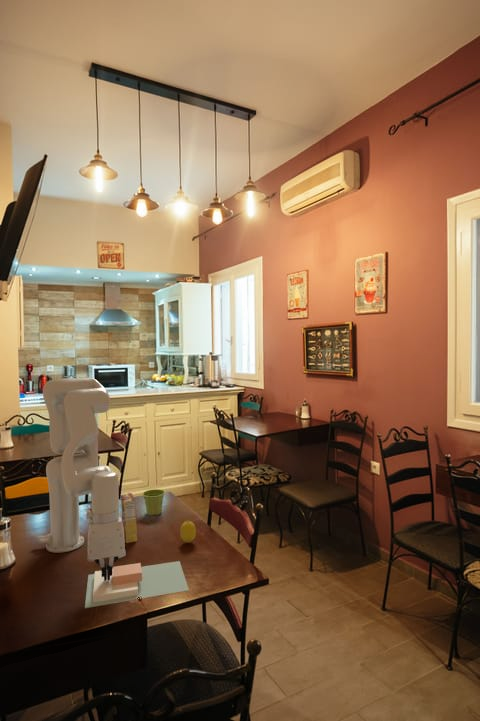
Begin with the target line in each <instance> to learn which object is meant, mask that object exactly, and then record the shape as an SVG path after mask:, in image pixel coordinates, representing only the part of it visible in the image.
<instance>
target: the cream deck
mask: <svg viewBox="0 0 480 721" xmlns="http://www.w3.org/2000/svg"><path fill="white" fill-rule="evenodd" d="M94 574H95V576H94V589H93V602H99V601H105V600H111V599H117V598H123V597H129V596H135V595H138V584H137V582H132V583H126V584H120V585H114V586H113V568H112V576H110V580H106V581H104V577H102V572H101V570H95V571H94Z"/></svg>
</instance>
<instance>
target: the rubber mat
mask: <svg viewBox="0 0 480 721" xmlns="http://www.w3.org/2000/svg"><path fill="white" fill-rule="evenodd" d="M182 567H183V566H182V565H181V561H180V560H178V561H177V560H176V561H171V562H164V563H163V562H162V563H159V564H151V565H144V566H141V569H142V581H139V582H137V584H138V595H135V596H129V597H123V598H117V599H111V600H105V601H99V602H93V589H94V576H95V573H93V574H92V573H91V574H88V575H87V576H88V577H87V583H86V584H87V585H86V592H85V593H86V594H85V602H84V604H85V605H84V609H89V608H94V607H95V608H96V607H99V606H106V605H112V604H117V603H118V604H119V603H123V602H129V601H136V600H141V597H142V599H146V598H147V599H148V598H153V597H159V596H164V595H169V594H170V595H171V594H176V593H180V592H181V593H182V592H188V591H189V590H190V589H189V586H188V582H187V580H186V577H185V573H184V570H183V568H182ZM140 596H141V597H140ZM138 597H140V599H139V598H138ZM137 598H138V599H137ZM135 599H136V600H135Z"/></svg>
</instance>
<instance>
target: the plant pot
mask: <svg viewBox="0 0 480 721" xmlns="http://www.w3.org/2000/svg"><path fill="white" fill-rule="evenodd" d="M165 494H166V491H165V490H164V489H157V488H156V489H155V488H154V489H148V490H145V491H143V492H142V496H143V500H144V505H145V510H146V514H147V516H158V515H160V514H161V513H162V512H163V502H164V501H163V500H164V496H165Z"/></svg>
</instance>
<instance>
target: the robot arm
mask: <svg viewBox="0 0 480 721" xmlns="http://www.w3.org/2000/svg"><path fill="white" fill-rule="evenodd" d="M42 397H43V401H44V404H45V407H46V409H47V412H48V419H49V423H48V424H49V446H50V449H51V451H52V452H53V453H55V454H62V455H61V456H57V457H54V458H52V459H50V461H48V462H47V463H46V466H45V473H46V479H47V483H48V484H47V485H48V492H49V518H50V523H49V524H50V533H47V534H46V535H37V537H36V538H37V539H36V542H39V544H45V548H46V550H47V551H48V552H51V553H67V552H72V551H74V550H77V549H79V548H80V547H81V546H83V545H84V543H85V537H84V536H83V535H80V505H79V503H80V500H79V497H81V496H84V495H89V494H91V496H90V497H91V511H90V512H88V513H86V519H90V521H89V524H88V530H87V544H86V545H87V547H86V548H87V558H86V560H87V562H91V563H92V562H93V563H94V562H95V563H96V564H97V565H98V566H100V569H101V570H100V571H101V572H102V577H104V581H106V580H110V576H112V569H113V567H114V564H115V563H116V562H117V560H118V559H120V558H124V557H126V554H127V553H126V549H125V546H126V544H125V543H126V541H125V538H124V528H123V522H122V516H120V499H119V498H120V497H119V494H120V492H119V489H120V488H119V487H120V486H119V476H118V474H117V473H116V472H114V471H113V469H112V468H111V467H110V466H109V465H99V445H98V444H99V442H98V441H99V440H98V439H99V438H98V436H99V434H100V430H99V426H98V422H97V418H96V414H102V413H103V414H105V413H107V412H108V411H109V410H110V408H111V397H110V394H109V393H108V391H107V389H106V388H105V387H104V386H103V385H102V384H101V383H100V381H98V380H97V379H95V378H94V377H88V376H87V377H66V378H55V379H49V380H48V381H46V382H45V383H44V385H43V387H42ZM79 451H82V453H76V454H75V452H79ZM105 559H108V561H105Z"/></svg>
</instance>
